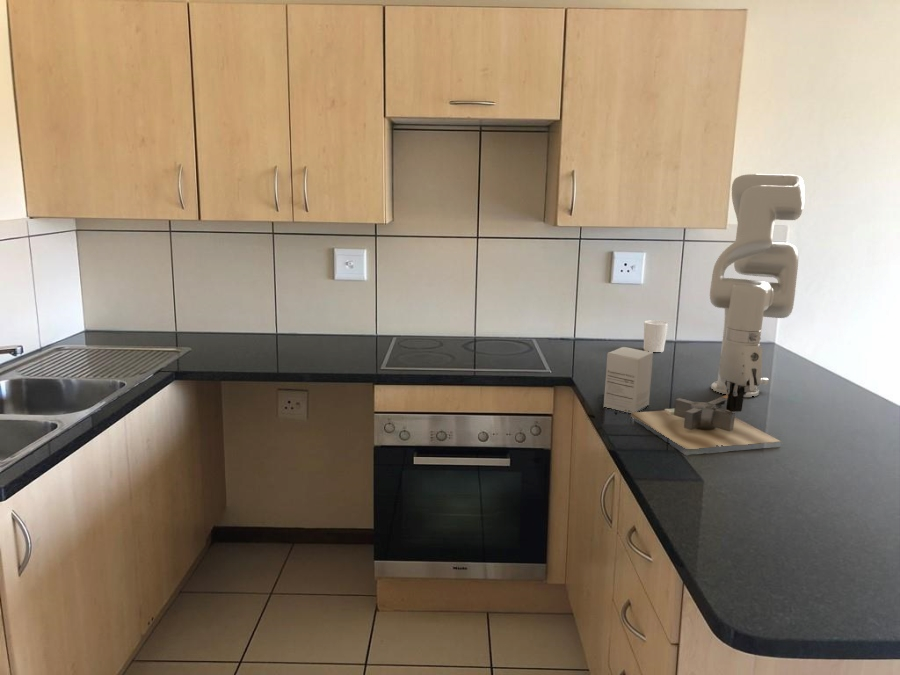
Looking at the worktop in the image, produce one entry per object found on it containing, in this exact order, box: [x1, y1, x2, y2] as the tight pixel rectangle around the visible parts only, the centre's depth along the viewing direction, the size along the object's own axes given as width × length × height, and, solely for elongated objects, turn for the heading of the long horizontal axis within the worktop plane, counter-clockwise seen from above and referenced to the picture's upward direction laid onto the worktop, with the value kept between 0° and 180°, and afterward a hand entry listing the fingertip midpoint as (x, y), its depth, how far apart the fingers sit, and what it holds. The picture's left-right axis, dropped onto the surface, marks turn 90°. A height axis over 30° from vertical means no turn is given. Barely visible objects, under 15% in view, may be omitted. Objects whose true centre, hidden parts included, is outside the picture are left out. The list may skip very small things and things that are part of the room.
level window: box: [664, 407, 675, 415], centre depth 173 cm, size 6×3×1 cm, turn 105°
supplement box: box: [603, 346, 654, 413], centre depth 179 cm, size 9×9×15 cm
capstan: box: [673, 394, 736, 431], centre depth 165 cm, size 21×14×5 cm, turn 132°
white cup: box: [643, 319, 669, 353], centre depth 240 cm, size 8×8×10 cm
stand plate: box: [630, 409, 782, 449], centre depth 164 cm, size 24×24×2 cm
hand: (733, 410), depth 167 cm, fingers closed
